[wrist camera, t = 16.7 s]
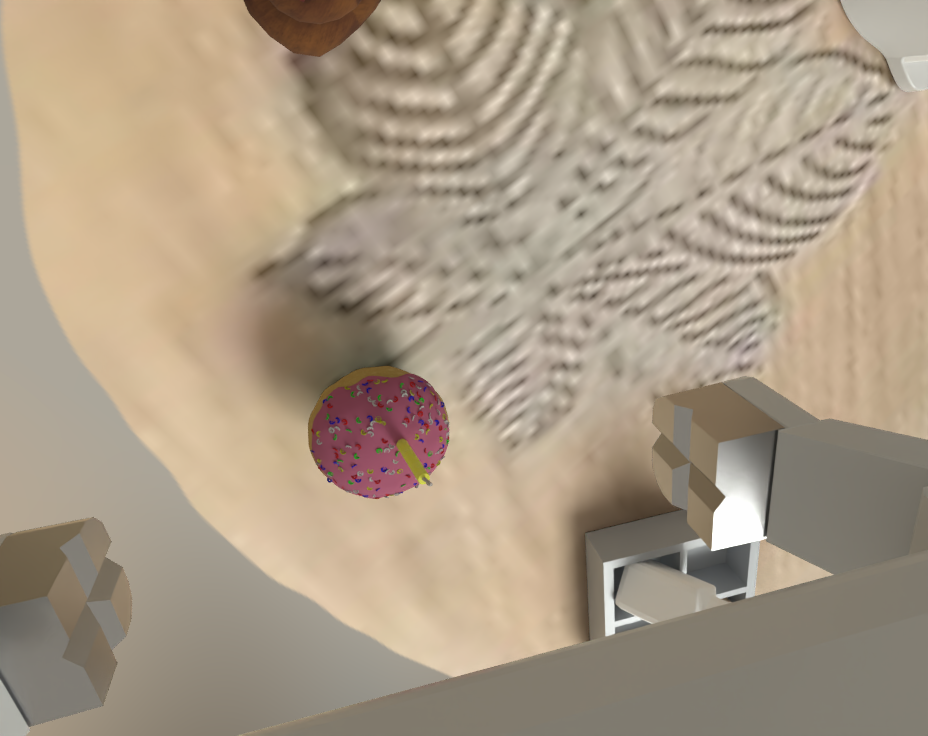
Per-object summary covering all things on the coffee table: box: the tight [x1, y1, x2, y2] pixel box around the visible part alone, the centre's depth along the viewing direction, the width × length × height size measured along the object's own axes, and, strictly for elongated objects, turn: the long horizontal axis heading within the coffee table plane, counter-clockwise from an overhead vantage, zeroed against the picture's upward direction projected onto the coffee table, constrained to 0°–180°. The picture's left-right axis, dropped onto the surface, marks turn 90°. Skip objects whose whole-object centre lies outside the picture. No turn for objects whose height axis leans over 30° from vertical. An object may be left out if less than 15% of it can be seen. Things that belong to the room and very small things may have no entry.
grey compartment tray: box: [585, 509, 760, 641], centre depth 54 cm, size 13×13×4 cm
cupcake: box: [308, 366, 449, 499], centre depth 38 cm, size 9×8×12 cm
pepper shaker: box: [615, 559, 732, 624], centre depth 49 cm, size 4×4×10 cm
